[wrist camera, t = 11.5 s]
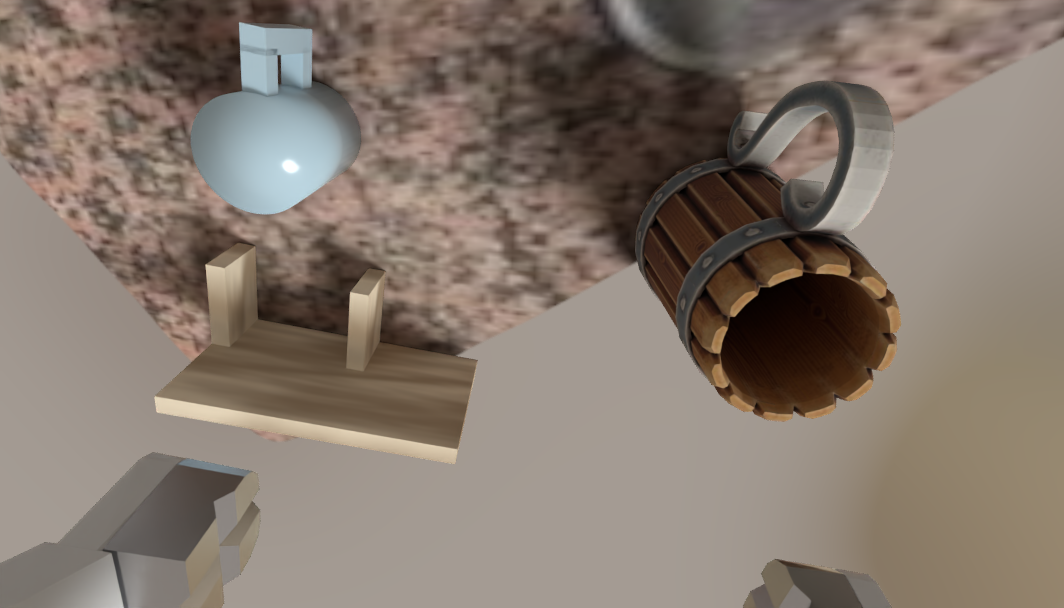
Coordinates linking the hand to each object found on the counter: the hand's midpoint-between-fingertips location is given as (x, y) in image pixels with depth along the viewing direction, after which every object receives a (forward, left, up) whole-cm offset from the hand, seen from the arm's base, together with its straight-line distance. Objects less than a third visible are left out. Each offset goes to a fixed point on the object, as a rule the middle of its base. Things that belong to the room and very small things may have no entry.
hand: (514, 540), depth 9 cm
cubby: (+14, -11, -29) cm, 34 cm away
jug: (0, -15, -29) cm, 33 cm away
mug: (0, +12, -29) cm, 32 cm away
